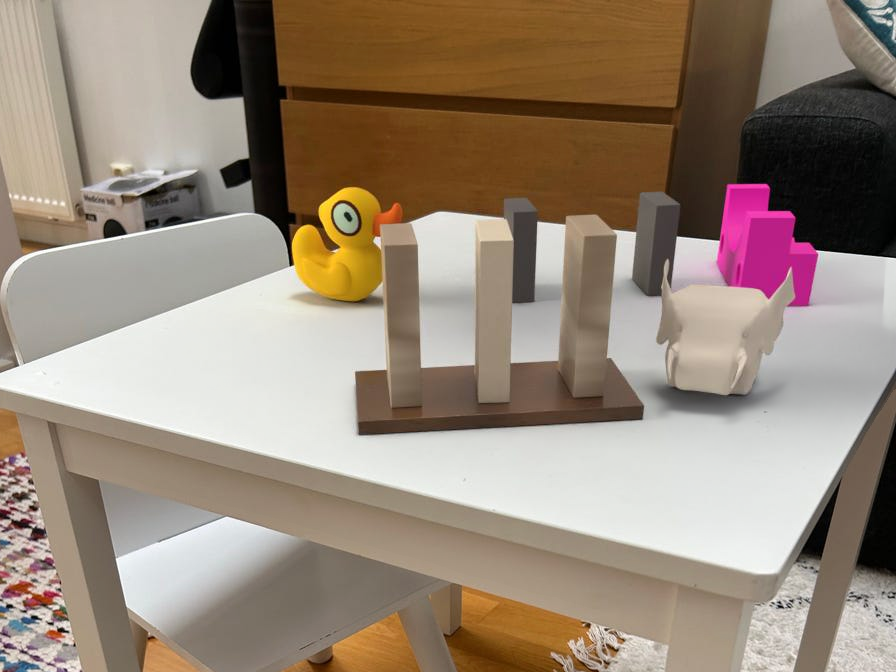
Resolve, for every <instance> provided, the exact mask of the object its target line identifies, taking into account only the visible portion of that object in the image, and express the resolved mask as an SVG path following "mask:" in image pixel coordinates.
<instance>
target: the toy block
mask: <svg viewBox="0 0 896 672" xmlns="http://www.w3.org/2000/svg"><path fill="white" fill-rule="evenodd" d="M770 191H771V188H770V186H769V185H768V184H767V183H729V184H727V185H726V193H725V200H724V207H723V214H722V215H723V216H722V223H721V229H720V237H719V244H718V251H717V258H716V264H717V267H718V268H719V270H720V272H721V275H722V276H723V278H724V280H725V283H726V284H727V285H726V286H729V287H742V288H753V289H758V290H761V291H762V292H763V293H764V294H765V296H766V297H767V298H768V299H770V298H771V297H772V295H773V294H774V293H775V292H776V290H777V289H778V288H779V287H780V286H781V285H782V284H783V282H784V281H785V280H786V277H787V274H788V272H789V270H790V268H791V267H792V277H793V288H794V293H795V299H794V300H793V301H792V302H791V303H790V304H788V305H787V306H791V307H793V306H794V307H795V306H797V307H798V306H800V307H801V306H803V307H804V306H805V307H807V306H809V305H810V300H811V295H812V289H813V286H814V285H813V283H814V280H815V275H816V274H815V273H816V269H817V264H818V259H819V253H818V251H817V250H816V249H815V248H814V246H813V245H812V244H811V243H810V242H796V241H795V237H794V236H793V235H794V229H795V223H796V216H794V214H793V213H792V212H791V211H790V210H783V211H782V210H772V211H771V210H769V200H770Z"/></svg>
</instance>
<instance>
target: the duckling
mask: <svg viewBox="0 0 896 672" xmlns="http://www.w3.org/2000/svg"><path fill="white" fill-rule="evenodd" d="M403 215H404V212H403V208H402V205H401V204H400V203H399V202H395V203H394V204H393V206H392V207H391V209H390V210H388V211H385V212H382V211H381V205H380V203H379V200H378V199H377V198H376V196H374V194H372V193H371V192H370V191H368V190H366V189H364V188H360V187H357V186H351V187H344V188H342V189H340V190H338V191H337V192H336V193H334V194H333V195H332V196H330V197H329V198H328V199H327V200H325V201H323V202H322V203H321V204H320V205H319V207H318V218H319V220H320V222H321V223H322V226H323V228H324V231H325V232H326V234H327V236H328V237H329V239H330V240H331V241H332V242H334V243H335V244H336V245H337V246H338V247H339V248H338V249H337V250H336V251H332V250H329V249H327V247H326V246H325V244H324V241H323V239H322V237H321V234H320V232H319V230H318V229H317V228H316V227H315V226H314V225H313V224H306V225H302V226H301V227H299V228H298V230H297V231H296V232H295V234H294V237H293V239H292V242H291V253H292V260H293V265H294V268H295V272H296V275H297V277H298V279H299V280H300V281H301V282H302V283H303V285H304V286H305V287H307V288H308V289H310V290H311V291H313V292H315V293H316V294H318V295H320V296H323V297H324V298H328V299H331V300H338V301H346V302H358V301H361V300H364V299H366V298H368V297H369V296H370V295H371V294H373V293H374V291H376V289H378V288H379V286H381V284H383V280H382V258H381V247H380V246H379V245H378V244H377V243H375V242H374V241H375V239H376V238H381V237H380V225H381V224H402V221H403V220H402V219H403Z"/></svg>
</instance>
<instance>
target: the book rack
mask: <svg viewBox="0 0 896 672" xmlns="http://www.w3.org/2000/svg"><path fill="white" fill-rule="evenodd" d="M564 228H565V229H564V230H565V231H564V247H563V266H562V267H563V268H562V284H561V285H562V286H561V300H560V301H561V303H560V321H559V338H558V339H559V340H558V358H557V360H545V361H543V360H542V361H526V362H525V361H524V362H523V361H522V362H511V364H510V401H509V402H507V403H479V402H478V395H477V387H476V379H475V364H470V365H469V364H467V365H451V366H450V365H449V366H448V365H447V366H432V367H431V366H430V367H429V366H428V367H422V357H421V356H422V354H421V353H422V352H421V350H422V349H421V317H420V315H421V313H420V280H419V279H420V278H419V276H420V275H419V243H418V241H417V237H416V234H415V231H414V227H413V224H412V223H411V222H406V223H405V222H403V223H402V222H401V223H400V224H381V225H380V237H379V238H380V249H381V258H382V280H383V281H382V298H383V299H382V301H383V319H384V320H383V321H384V341H385V342H384V343H385V362H386V363H385V364H386V369H374V370H373V369H372V370H371V369H370V370H356V371H354V380H355V381H354V382H355V383H354V384H355V399H356V411H357V412H356V415H357V431H358V435H373V434H374V435H375V434H392V433H393V434H394V433H409V432H410V433H413V432H427V431H429V432H430V431H431V432H432V431H446V430H447V431H448V430H466V429H483V428H485V429H486V428H499V427H502V428H503V427H518V426H519V427H520V426H521V427H522V426H537V425H538V426H540V425H555V424H573V423H575V424H577V423H590V422H591V423H592V422H609V421H610V422H611V421H627V420H628V421H629V420H642V419H644V413H645V412H644V411H645V405H644V404H643V403H644V402H642V401H641V399H640V397H639V396H638V394H637V393H636V391H635V390H634V389H633V387H632V386H631V385H630V383H629V381H628V380H627V379H626V377H625V375H623V373H622V372H621V369H620V368H619V367H618V366H617V364H616V363H615V361H614V360H613V359H612V357H608V348H609V338H610V336H609V335H610V326H611V325H610V324H611V312H612V302H613V301H612V299H613V288H614V275H615V263H616V254H617V253H616V251H617V239H618V234H617V233H616V232H615V231H614V230H613V229H612V228H611V227H610V226H609V225H608V223H606V222H605V221H604V220H603V219H602V218H601V217H600V216H599V215H598V214H579V215H577V214H576V215H567V216H565V227H564Z"/></svg>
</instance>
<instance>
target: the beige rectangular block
mask: <svg viewBox="0 0 896 672" xmlns="http://www.w3.org/2000/svg"><path fill="white" fill-rule="evenodd" d="M474 226H475V227H474V228H475V232H474V233H475V234H474V235H475V237H474V240H475V241H474V245H475V247H474V248H475V250H474V251H475V252H474V257H475V258H474V365H475V379H476V387H477V395H478V402H479V403H507V402H509V401H510V364H511V363H512V361H511V360H512V359H511V358H512V324H513V320H512V319H513V303H512V288H513V249H514V240H513V237H512V234H511V231H510V228H509V225H508V222H507V220H506V219H504V218H501V219H499V218H498V219H476V220H475V225H474Z"/></svg>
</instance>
